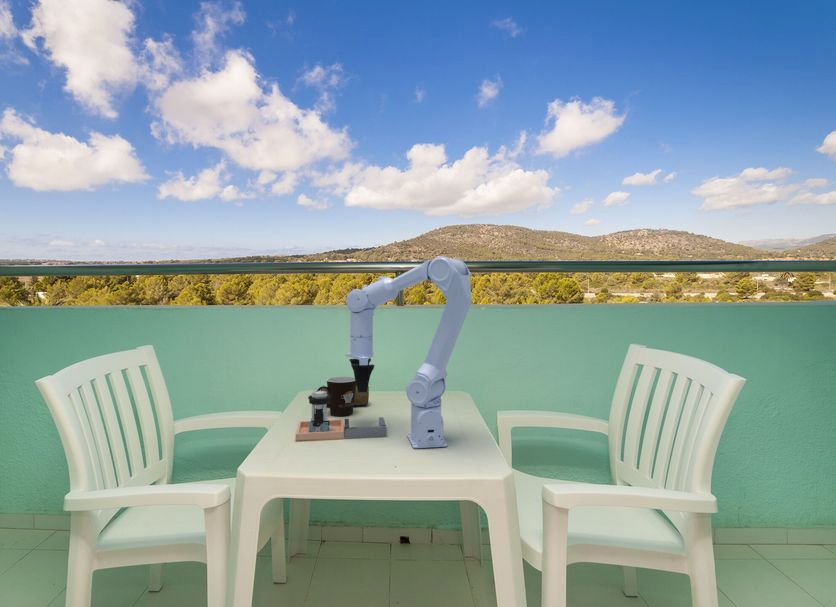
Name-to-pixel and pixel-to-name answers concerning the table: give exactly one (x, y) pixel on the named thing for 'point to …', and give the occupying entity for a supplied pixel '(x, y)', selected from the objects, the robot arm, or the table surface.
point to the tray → (305, 435)
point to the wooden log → (358, 397)
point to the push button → (319, 412)
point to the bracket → (366, 430)
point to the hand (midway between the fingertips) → (361, 388)
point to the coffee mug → (341, 395)
